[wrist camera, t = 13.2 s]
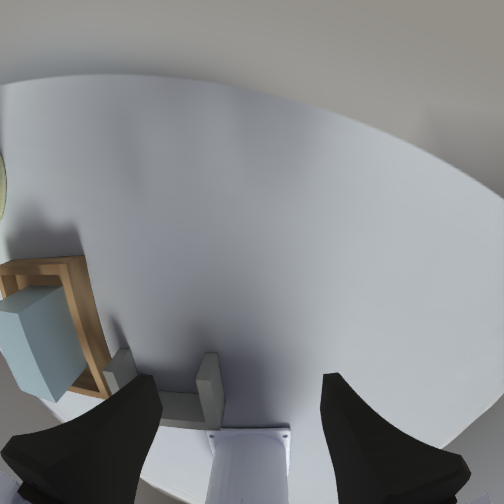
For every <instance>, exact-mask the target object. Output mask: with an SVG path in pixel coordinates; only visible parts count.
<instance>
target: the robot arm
mask: <svg viewBox="0 0 504 504" xmlns="http://www.w3.org/2000/svg"><path fill="white" fill-rule="evenodd" d="M162 411H163V406H162V403H161V400H160V397H159V394H158V391H157V388H156V385H155V382H154V379H153V376H152V375H143V374H140V375H138V376H137V377H135V378H134V379H133V380H131V381H130V382H129V383H128V384H126V385H125V386H124V387H122V388H121V389H120V390H118V391H117V392H116V393H114V394H113V395H112V396H110V397H109V398H108V399H106V400H105V401H103V402H102V403H100V404H99V405H97V406H96V407H94V408H93V409H91V410H90V411H88V412H86V413H84V414H83V415H81V416H79V417H77V418H75V419H73V420H71V421H68V422H66V423H63V424H61V425H58V426H56V427H53V428H50V429H46V430H43V431H39V432H35V433H30V434H23V435H16V436H12V438H11V439H10V440H9V442H8V443H7V444H6V446H5V447H4V448H3V449H2V451H1V452H0V453H1V456H2V458H3V459H4V461H5V462H6V463H7V464H8V466H9V467H10V468H11V469H12V470H13V471H14V472H15V473H16V474H17V475H18V476H19V477H20V478H21V479H22V481H24V482H23V483H22V485H20V484H19V483H18V482H17V481H15V480H14V479H12V478H11V477H10V476H8V475H7V474H5V473H4V472H2V471H0V504H134V500H135V495H136V490H137V485H138V481H139V477H140V473H141V470H142V467H143V464H144V461H145V459H146V456H147V454H148V452H149V449H150V447H151V444H152V442H153V440H154V437H155V435H156V432H157V430H158V427H159V424H160V420H161V416H162ZM320 412H321V419H322V426H323V431H324V434H325V438H326V442H327V445H328V449H329V453H330V456H331V460H332V464H333V467H334V472H335V477H336V484H337V492H338V501H339V504H456V503H457V499H456V497H455V495H456V493H457V492H458V491H459V490H460V489H461V488H462V487H463V486H464V485H465V484H466V483H467V481H468V480H469V478H470V476H471V472H470V470H469V468H468V466H467V464H466V462H465V461H464V459H463V458H462V456H461V455H458V454H455V453H451V452H447V451H444V450H441V449H438V448H435V447H433V446H430V445H428V444H425V443H423V442H421V441H419V440H417V439H415V438H413V437H411V436H409V435H407V434H406V433H404V432H402V431H401V430H399V429H397V428H396V427H394V426H393V425H392V424H390V423H389V422H387V421H386V420H385V419H384V418H382V417H381V416H380V415H379V414H378V413H376V412H375V411H374V410H373V409H372V408H371V407H370V406H369V405H368V404H367V403H366V402H365V401H364V400H363V399H362V398H361V397H360V396H359V395H358V394H357V393H356V392H355V391H354V390H353V389H352V388H351V387H350V386H349V384H348V383H347V382H346V381H345V380H344V378H343V377H342V376H341V375H340V374H339V373H330V374H323V384H322V394H321V403H320ZM206 434H207V438H208V441H209V444H210V448H211V451H212V454H213V464H212V469H211V475H210V480H209V486H208V491H207V497H206V502H205V504H289V501H288V480H287V475H288V474H289V461H290V439H291V430H290V429H289V428H266V429H225V428H221V431H213V430H206ZM467 504H493V502H492V500H491V498H490V496H489V495H488V493H484V494H482V495H481V496H479V497H477V498H476V499H474V500H472V501H470V502H468V503H467Z"/></svg>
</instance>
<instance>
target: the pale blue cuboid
mask: <svg viewBox="0 0 504 504" xmlns="http://www.w3.org/2000/svg"><path fill="white" fill-rule="evenodd" d="M0 347H1V349H2V351H3V354H4V356H5V358H6V361H7V363H8V365H9V367H10V369H11V371H12V373H13V375H14V377H15V379H16V381H17V383H18V385H19V387H20V389H21V390H22V391H25V392H27V393H30V394H32V395H35V396H37V397H40V398H43V399H46V400H48V401H51V402H54V403H57V401H58V400H59V399H60V398H61V397H62V395H63V394H64V393H65V392H66V391H67V389H68V388H69V387H70V386H71V385H72V384H73V382H74V381H75V380H76V379H77V378H78V377H79V375H80V374H81V373H82V372H83V371H84V370H85V368H86V367H87V366H88V364H87V361H86V358H85V356H84V353H83V350H82V347H81V345H80V342H79V339H78V336H77V333H76V330H75V326H74V323H73V320H72V317H71V313H70V310H69V306H68V303H67V299H66V295H65V291H64V287H63V286H49V285H28V286H26V287H25V288H23V289H21V290H19V291H17V292H15V293H13V294H12V295H10V296H8V297H6V298H4V299H3V300H1V301H0Z"/></svg>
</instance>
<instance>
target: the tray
mask: <svg viewBox="0 0 504 504" xmlns="http://www.w3.org/2000/svg"><path fill="white" fill-rule="evenodd" d="M28 285H49V286H63V287H64V291H65V295H66V299H67V303H68V306H69V310H70V313H71V317H72V320H73V323H74V326H75V330H76V333H77V336H78V339H79V342H80V345H81V347H82V350H83V353H84V356H85V358H86V361H87V364H88V366H87V367H86V368H85V370H84V371H83V372H82V373H81V374H80V375H79V377H78V378H77V379H76V380H75V381H74V382H73V384H72V385H71V386H70V387H69V388H68V389H67V391H71V392H75V393H79V394H83V395H87V396H91V397H96V398H100V399H105V400H106V399H108V398H109V397H110V396H112V393H111V391H110V388H109V386H108V384H107V381H106V379H105V376H104V374H103V370H104V368H105V367H106V366H107V364H108V363H109V362H110V361H111V356H110V353H109V350H108V347H107V344H106V341H105V338H104V335H103V331H102V328H101V324H100V321H99V317H98V314H97V310H96V306H95V302H94V298H93V294H92V289H91V285H90V281H89V276H88V271H87V266H86V261H85V255H79V256H64V257H50V258H36V259H22V260H11V261H8V262H6V263H4V264H1V265H0V290H1V293H2V297H3V299H4V298H6V297H8V296H10V295H12V294H13V293H15V292H17V291H19V290H21V289H23V288H25V287H26V286H28Z"/></svg>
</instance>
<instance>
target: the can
mask: <svg viewBox="0 0 504 504" xmlns="http://www.w3.org/2000/svg"><path fill="white" fill-rule="evenodd" d="M5 201H6V173H5V167H4V163H3V160H2V157H1V155H0V221H1V218H2V215H3V212H4V207H5Z"/></svg>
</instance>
